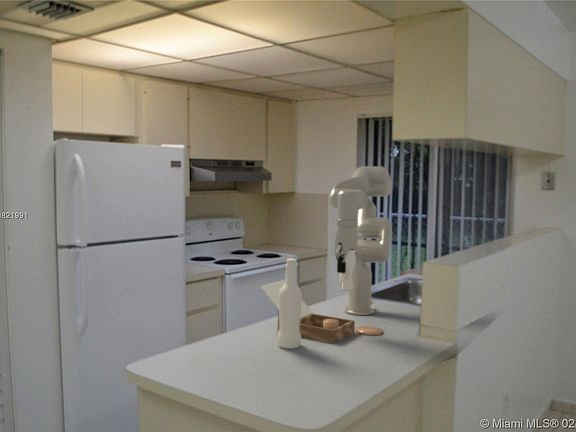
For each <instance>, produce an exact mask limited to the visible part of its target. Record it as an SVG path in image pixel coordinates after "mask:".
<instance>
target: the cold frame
mask: <svg viewBox="0 0 576 432" xmlns="http://www.w3.org/2000/svg"><path fill="white" fill-rule="evenodd" d="M325 319H335V320H338V321H339V327H337V328H335V329H333V330H331V329H326V328H323V320H325ZM355 327H356V326H355V320H351V319H346V318H341V317H335V316H330V315H323V314H318V313H313V314H310V315H308V316H305V317H303V318H300V328H299V330H300V334H301V338H304V339H309V340H313V341H314V340H315V341H320V342H323V343H324V342H325V343H328V344H335V343H337V342H339V341H341V340H343V339H346V338H347V337H348V336H350V335H353V334H354V333H355Z"/></svg>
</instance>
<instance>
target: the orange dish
mask: <svg viewBox="0 0 576 432" xmlns="http://www.w3.org/2000/svg"><path fill="white" fill-rule="evenodd" d="M355 332H356V333H357V334H358V335H362V336H370V337H373V336H380V335H382V334H383V329H381V328H379V327H377V326H373V325H372V326H370V325H364V326H363V325H361V326H357V327H356V328H355Z"/></svg>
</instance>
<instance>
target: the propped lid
mask: <svg viewBox="0 0 576 432" xmlns="http://www.w3.org/2000/svg"><path fill="white" fill-rule="evenodd" d="M284 284H285V279H281V280H277V281H274V282H270V283H266V284H263V285H259V289H260V290H261V291H262V292H263V293H264V294H265V296H266V297H267V298H268V299H269V300H270V302H271V303H272V304H273V305H274V306H275V308H277V331H278V332H279V330H280V320H279V292H280V289H281V288H282V286H283V285H284ZM310 314H314V312H313V311H312V309H311V308H310V307H309V306H308V305H307V304H306V303H305V301H304V300H303V299H302V303H301V315H300V318H303V317H305V316H308V315H310Z"/></svg>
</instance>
